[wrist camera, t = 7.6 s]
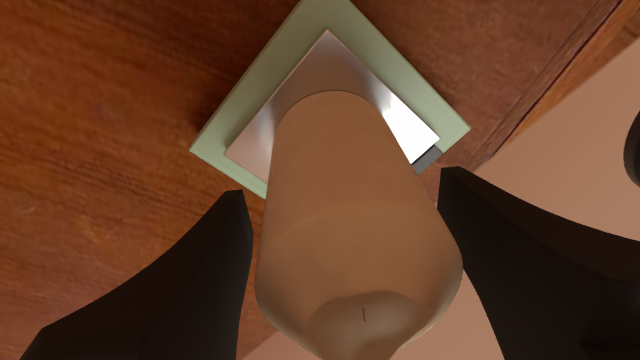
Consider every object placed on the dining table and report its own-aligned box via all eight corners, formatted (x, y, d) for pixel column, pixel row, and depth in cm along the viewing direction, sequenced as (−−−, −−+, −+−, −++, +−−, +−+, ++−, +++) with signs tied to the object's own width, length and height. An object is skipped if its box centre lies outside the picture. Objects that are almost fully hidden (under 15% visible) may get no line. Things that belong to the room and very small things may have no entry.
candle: (362, 204, 18) (419, 410, 10) (261, 178, 17) (226, 388, 9) (409, 109, 16) (543, 281, 7) (292, 72, 14) (285, 224, 6)
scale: (456, 114, 19) (474, 130, 17) (332, 224, 22) (336, 248, 21) (320, -28, 15) (324, -27, 13) (197, 133, 19) (186, 152, 17)
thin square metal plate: (436, 132, 17) (441, 138, 16) (334, 222, 20) (335, 230, 19) (326, 25, 14) (327, 27, 14) (225, 148, 17) (222, 154, 16)
